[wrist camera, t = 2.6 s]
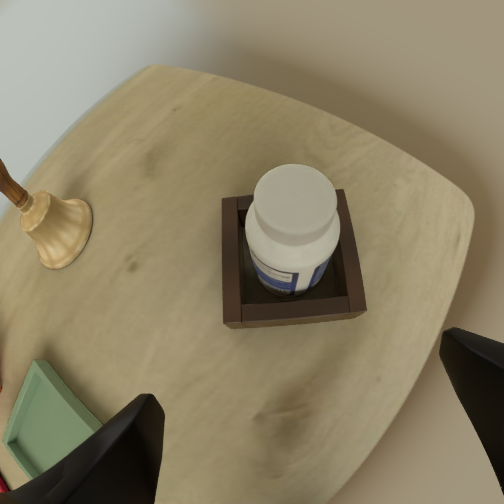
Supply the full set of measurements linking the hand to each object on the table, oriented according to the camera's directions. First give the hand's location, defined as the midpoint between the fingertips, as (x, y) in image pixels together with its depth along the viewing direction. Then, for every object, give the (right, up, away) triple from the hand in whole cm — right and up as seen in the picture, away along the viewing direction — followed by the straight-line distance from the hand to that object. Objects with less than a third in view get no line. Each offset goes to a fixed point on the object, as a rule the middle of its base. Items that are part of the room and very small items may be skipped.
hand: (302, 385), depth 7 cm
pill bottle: (+1, +3, +15) cm, 15 cm away
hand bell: (-22, +6, +18) cm, 29 cm away
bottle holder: (+1, +3, +15) cm, 15 cm away
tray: (-19, -16, +9) cm, 26 cm away
